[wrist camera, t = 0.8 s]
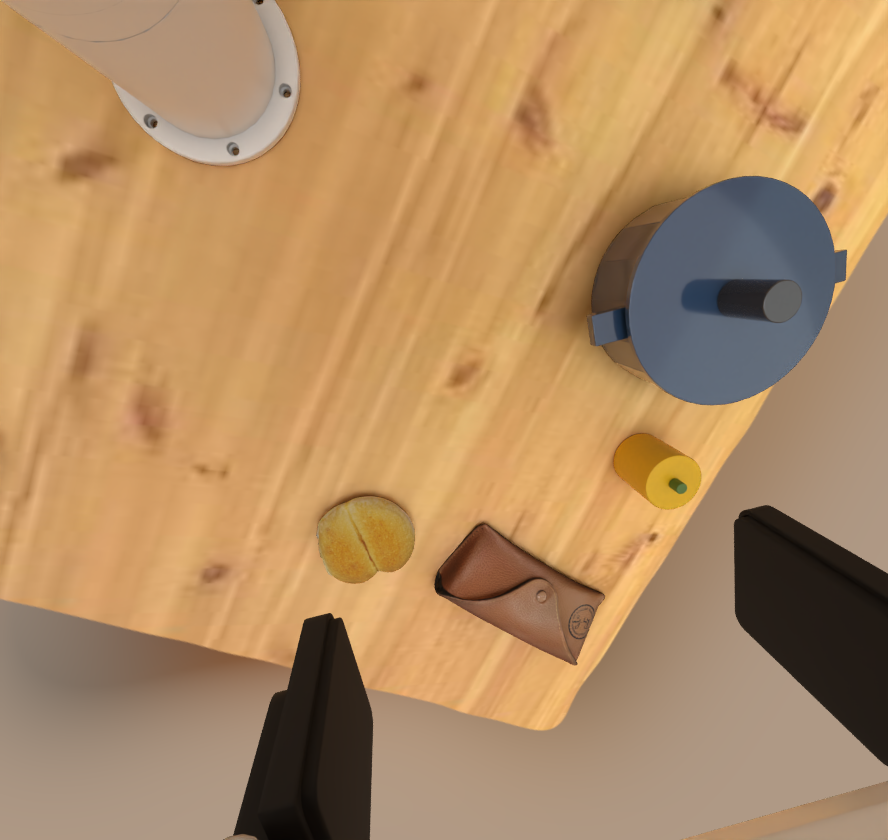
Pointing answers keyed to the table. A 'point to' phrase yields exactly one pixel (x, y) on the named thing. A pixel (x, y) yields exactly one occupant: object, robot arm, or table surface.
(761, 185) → the lid
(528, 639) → the sunglasses case
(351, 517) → the bread roll
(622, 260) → the pan
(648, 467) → the yellow cylinder with peg
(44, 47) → the table surface
